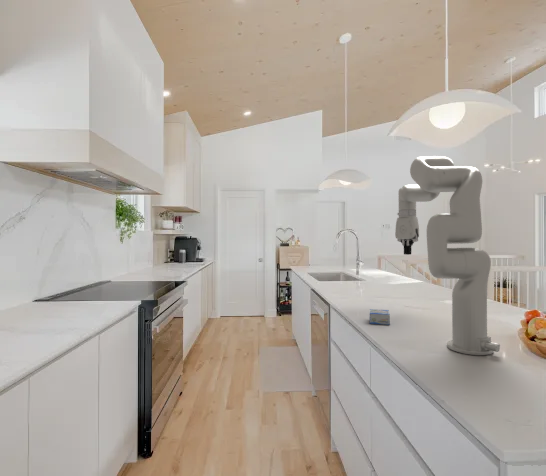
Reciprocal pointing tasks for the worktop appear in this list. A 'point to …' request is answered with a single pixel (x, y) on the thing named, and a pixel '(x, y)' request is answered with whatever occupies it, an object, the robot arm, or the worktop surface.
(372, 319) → the medicine box
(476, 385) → the worktop surface
